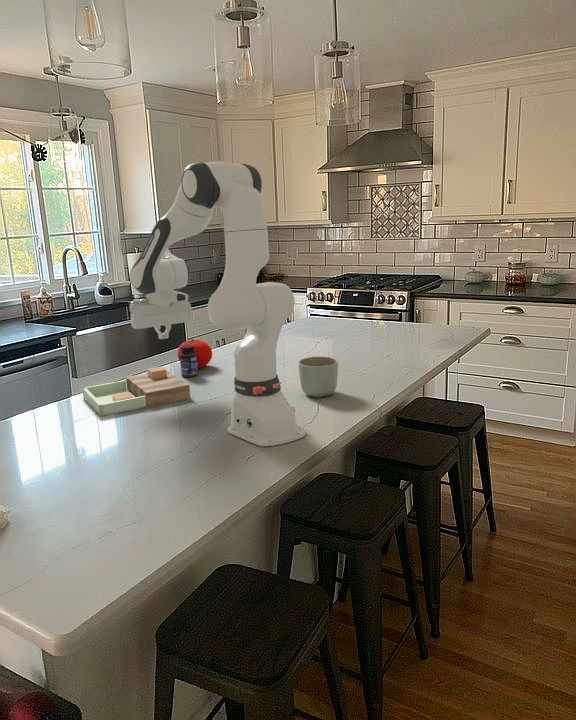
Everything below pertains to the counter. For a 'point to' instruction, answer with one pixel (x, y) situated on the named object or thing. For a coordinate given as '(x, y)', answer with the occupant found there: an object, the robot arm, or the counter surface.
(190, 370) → the pill bottle
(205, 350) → the tomato
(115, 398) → the tile
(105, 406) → the tray
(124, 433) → the counter surface
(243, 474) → the counter surface
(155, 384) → the board
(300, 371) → the planter
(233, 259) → the robot arm
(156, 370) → the tile
